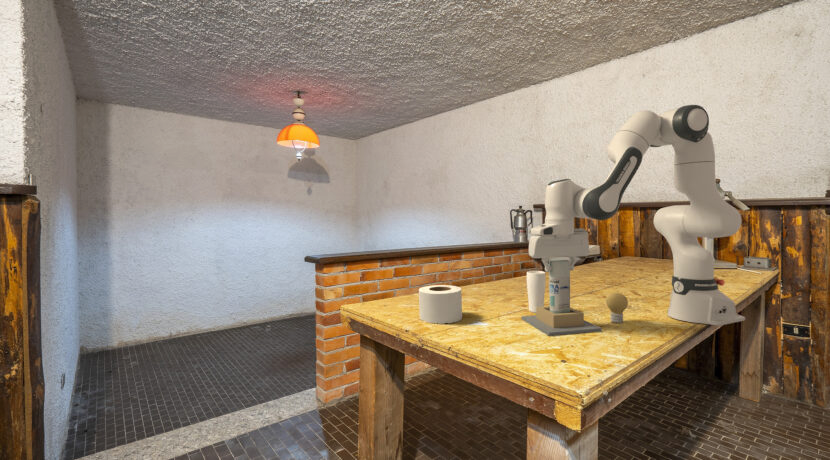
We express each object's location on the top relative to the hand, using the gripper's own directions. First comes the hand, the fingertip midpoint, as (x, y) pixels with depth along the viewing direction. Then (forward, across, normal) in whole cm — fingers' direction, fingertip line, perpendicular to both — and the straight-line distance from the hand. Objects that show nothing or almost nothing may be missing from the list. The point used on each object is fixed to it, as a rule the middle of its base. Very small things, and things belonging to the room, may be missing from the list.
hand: (559, 270), depth 121 cm
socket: (+18, 0, 0) cm, 18 cm away
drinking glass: (+18, -1, -17) cm, 25 cm away
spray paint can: (+17, 0, 0) cm, 17 cm away
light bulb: (+18, -20, +2) cm, 27 cm away
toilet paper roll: (+18, +36, -18) cm, 44 cm away
